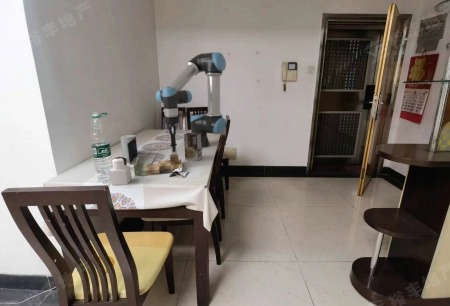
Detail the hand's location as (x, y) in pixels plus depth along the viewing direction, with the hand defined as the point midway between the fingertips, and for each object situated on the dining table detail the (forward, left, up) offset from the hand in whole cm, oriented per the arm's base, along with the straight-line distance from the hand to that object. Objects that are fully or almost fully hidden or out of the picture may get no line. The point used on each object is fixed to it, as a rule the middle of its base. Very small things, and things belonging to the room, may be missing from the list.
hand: (174, 156), depth 138 cm
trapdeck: (+8, +9, -4) cm, 13 cm away
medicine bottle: (+25, +23, -4) cm, 34 cm away
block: (0, +8, -2) cm, 8 cm away
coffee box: (-12, -5, -4) cm, 14 cm away
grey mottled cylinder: (+28, -26, -4) cm, 39 cm away
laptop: (+18, -11, -5) cm, 22 cm away
